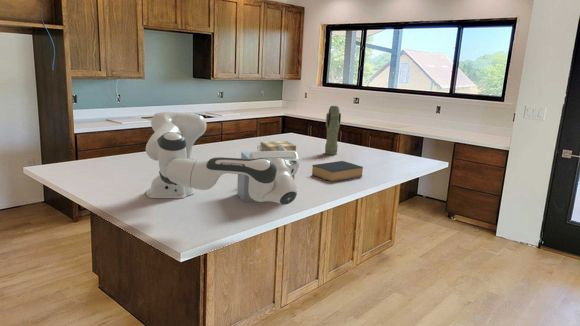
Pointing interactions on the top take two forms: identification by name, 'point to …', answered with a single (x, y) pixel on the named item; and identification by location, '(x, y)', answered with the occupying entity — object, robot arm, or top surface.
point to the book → (337, 170)
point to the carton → (275, 144)
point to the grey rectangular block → (243, 188)
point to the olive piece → (332, 130)
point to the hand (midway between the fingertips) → (269, 146)
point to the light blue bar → (245, 155)
